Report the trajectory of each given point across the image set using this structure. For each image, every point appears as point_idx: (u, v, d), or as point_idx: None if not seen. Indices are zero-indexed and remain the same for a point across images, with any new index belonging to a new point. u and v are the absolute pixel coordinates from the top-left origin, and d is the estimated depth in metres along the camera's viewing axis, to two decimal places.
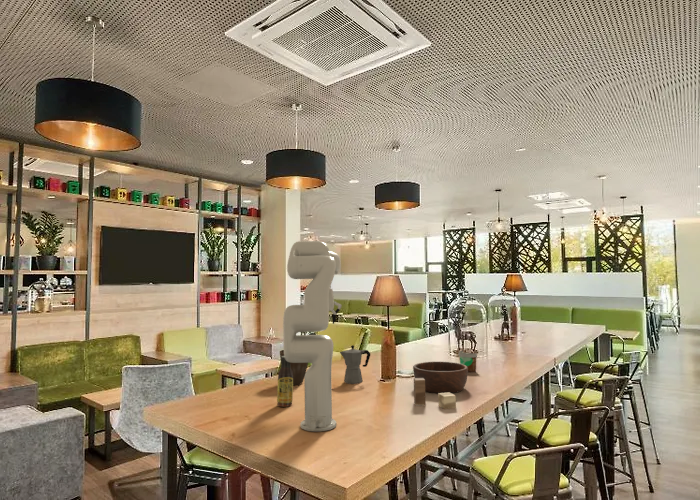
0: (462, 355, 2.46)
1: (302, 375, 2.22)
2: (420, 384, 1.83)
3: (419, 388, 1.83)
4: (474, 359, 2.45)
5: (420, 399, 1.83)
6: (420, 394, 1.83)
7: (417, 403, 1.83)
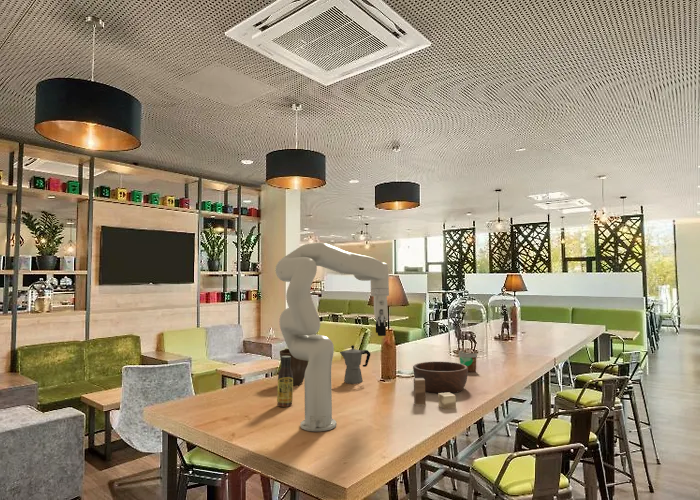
0: (462, 355, 2.46)
1: (302, 375, 2.22)
2: (420, 384, 1.83)
3: (419, 388, 1.83)
4: (474, 359, 2.45)
5: (420, 399, 1.83)
6: (420, 394, 1.83)
7: (417, 403, 1.83)
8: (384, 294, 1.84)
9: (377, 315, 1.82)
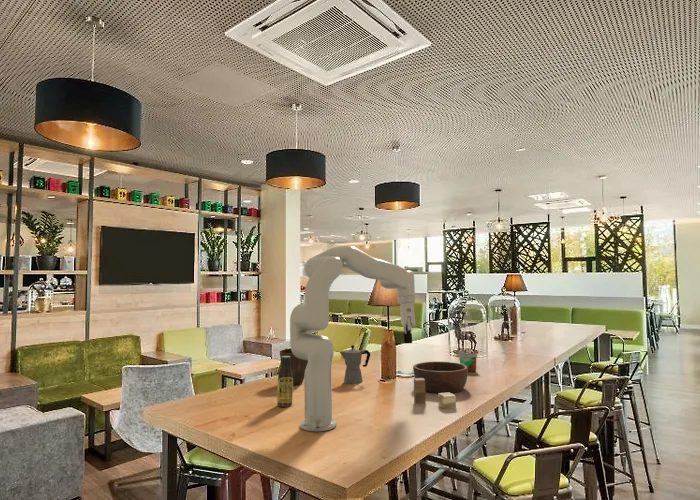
0: (462, 355, 2.46)
1: (302, 375, 2.22)
2: (420, 384, 1.83)
3: (419, 388, 1.83)
4: (474, 359, 2.45)
5: (420, 399, 1.83)
6: (420, 394, 1.83)
7: (417, 403, 1.83)
8: (411, 301, 1.90)
9: (405, 322, 1.88)
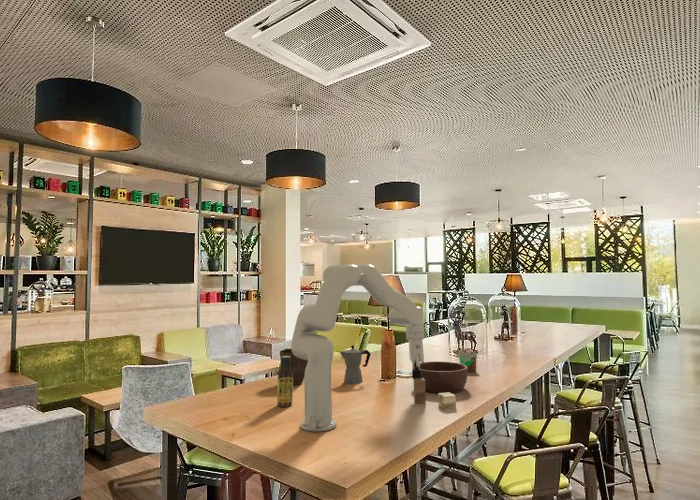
0: (462, 355, 2.46)
1: (302, 375, 2.22)
2: (420, 384, 1.83)
3: (419, 388, 1.83)
4: (474, 359, 2.45)
5: (420, 399, 1.83)
6: (420, 394, 1.83)
7: (417, 403, 1.83)
8: (420, 338, 1.91)
9: (413, 359, 1.89)
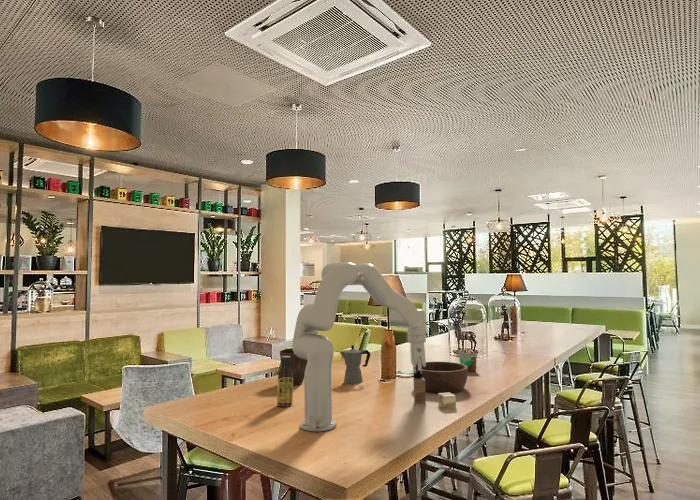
0: (462, 355, 2.46)
1: (302, 375, 2.22)
2: (420, 384, 1.83)
3: (419, 388, 1.83)
4: (474, 359, 2.45)
5: (420, 399, 1.83)
6: (420, 394, 1.83)
7: (417, 403, 1.83)
8: (421, 341, 1.87)
9: (415, 362, 1.85)
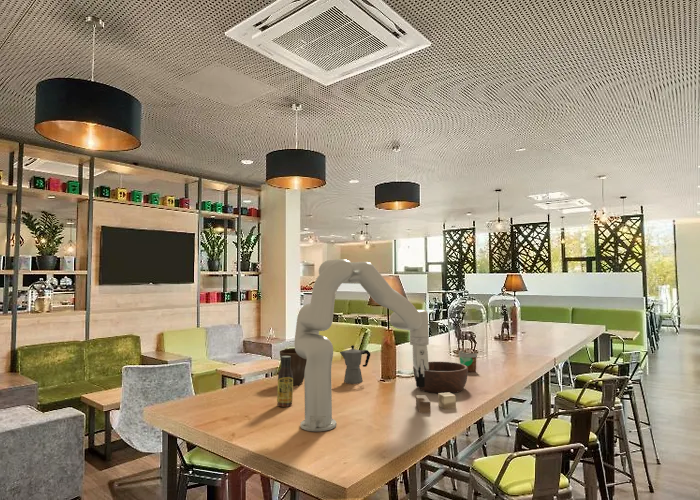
0: (462, 355, 2.46)
1: (302, 375, 2.22)
2: None
3: None
4: (474, 359, 2.45)
5: None
6: None
7: None
8: (424, 343, 1.80)
9: (418, 365, 1.78)
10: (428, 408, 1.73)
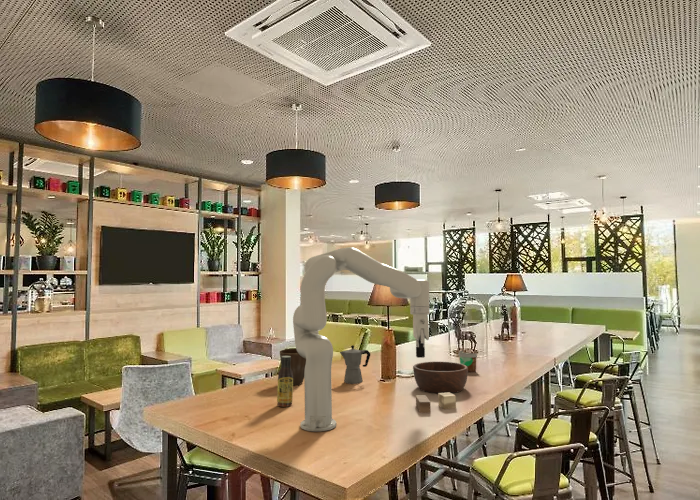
0: (462, 355, 2.46)
1: (302, 375, 2.22)
2: None
3: None
4: (474, 359, 2.45)
5: None
6: None
7: None
8: (425, 312, 1.77)
9: (418, 334, 1.75)
10: (428, 408, 1.73)
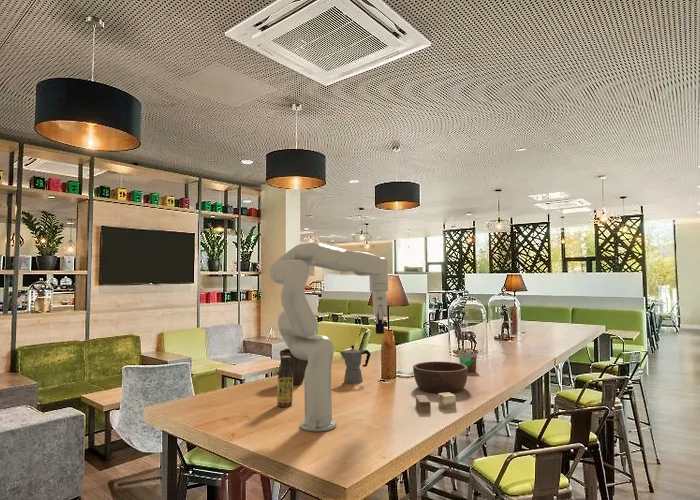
0: (462, 355, 2.46)
1: (302, 375, 2.22)
2: None
3: None
4: (474, 359, 2.45)
5: None
6: None
7: None
8: (383, 289, 1.81)
9: (376, 311, 1.79)
10: (428, 408, 1.73)
